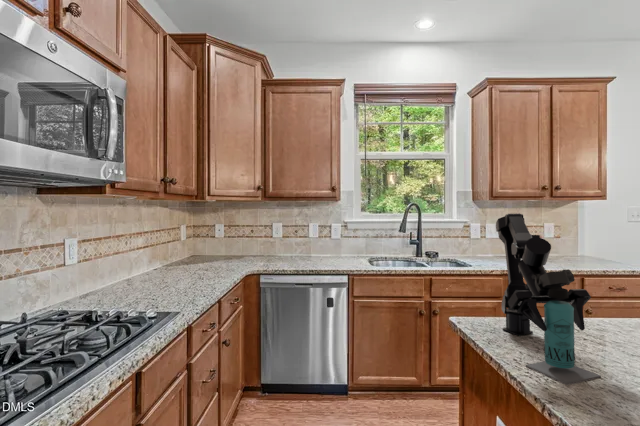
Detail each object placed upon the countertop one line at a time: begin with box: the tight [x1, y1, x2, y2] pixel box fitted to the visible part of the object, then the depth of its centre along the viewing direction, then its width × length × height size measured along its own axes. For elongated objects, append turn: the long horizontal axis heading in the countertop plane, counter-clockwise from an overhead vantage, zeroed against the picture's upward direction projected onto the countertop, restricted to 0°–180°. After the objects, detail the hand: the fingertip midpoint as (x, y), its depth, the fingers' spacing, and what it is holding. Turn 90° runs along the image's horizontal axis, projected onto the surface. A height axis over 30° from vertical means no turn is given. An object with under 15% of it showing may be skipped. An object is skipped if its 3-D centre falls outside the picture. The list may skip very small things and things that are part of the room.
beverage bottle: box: [543, 287, 576, 368], centre depth 91 cm, size 6×7×20 cm
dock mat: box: [525, 360, 602, 386], centre depth 91 cm, size 11×11×1 cm
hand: (564, 330), depth 89 cm, fingers open, 9 cm apart
